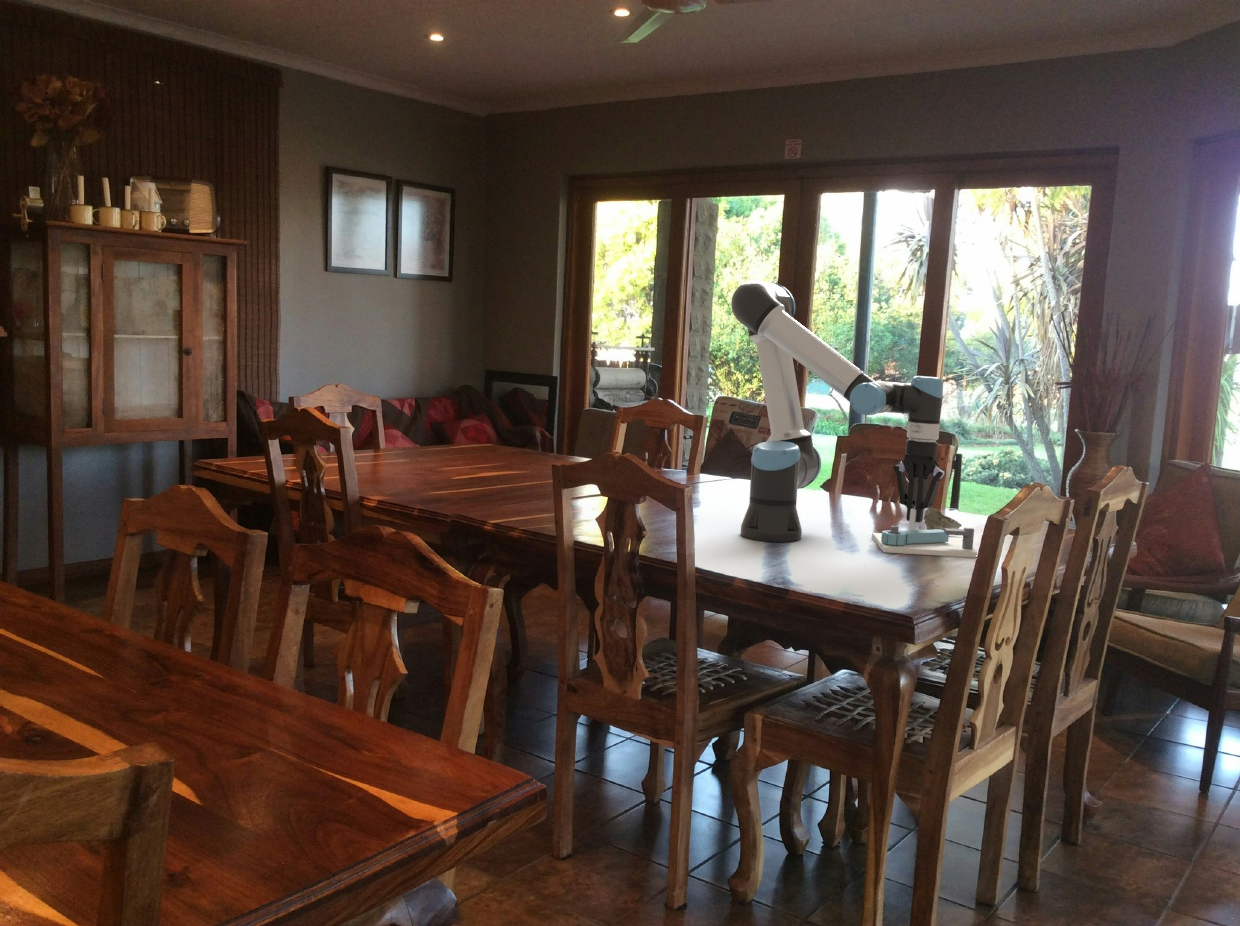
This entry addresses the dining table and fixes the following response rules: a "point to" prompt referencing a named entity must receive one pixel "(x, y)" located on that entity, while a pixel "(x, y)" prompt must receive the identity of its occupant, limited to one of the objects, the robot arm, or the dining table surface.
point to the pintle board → (934, 544)
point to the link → (914, 537)
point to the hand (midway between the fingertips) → (912, 534)
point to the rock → (939, 520)
